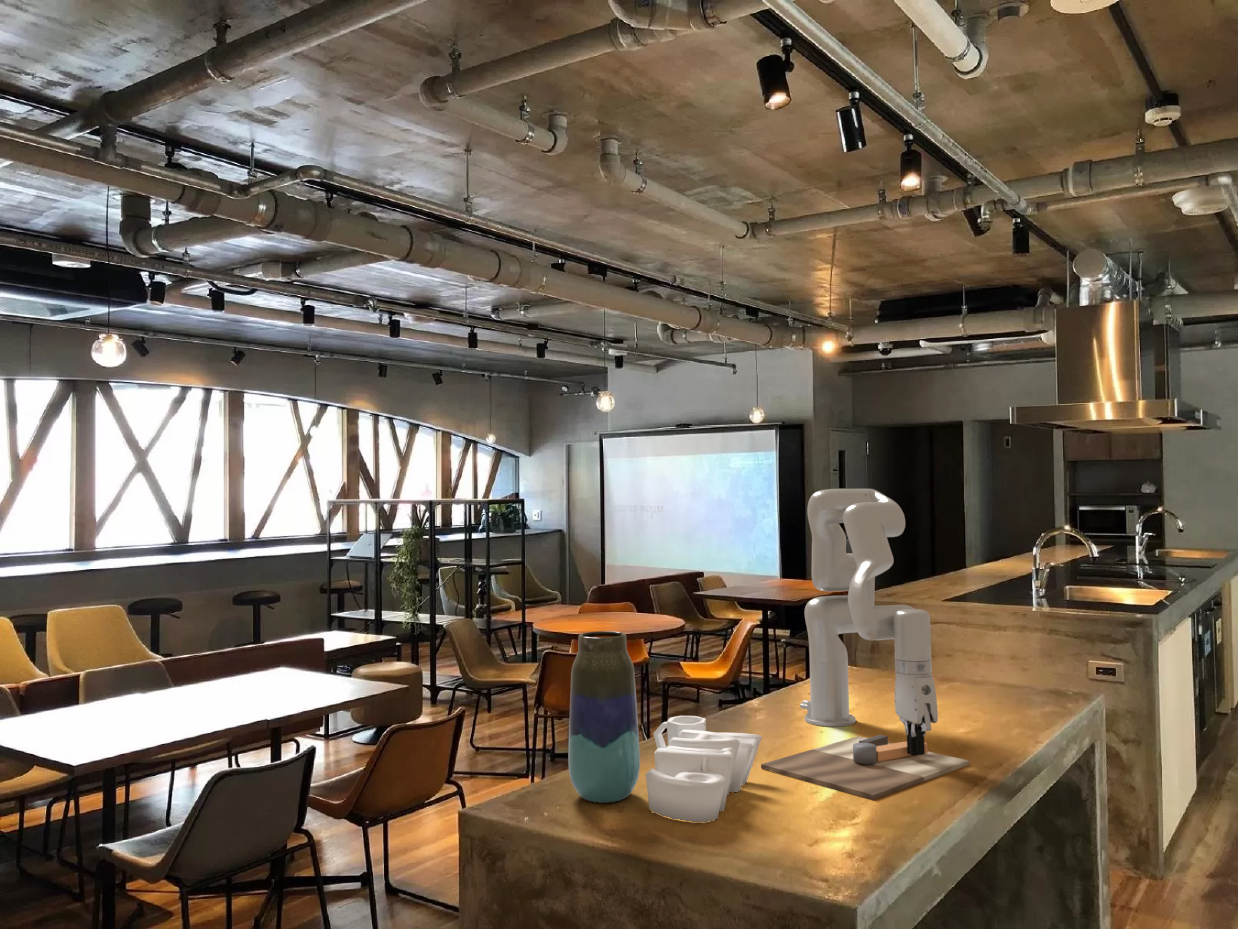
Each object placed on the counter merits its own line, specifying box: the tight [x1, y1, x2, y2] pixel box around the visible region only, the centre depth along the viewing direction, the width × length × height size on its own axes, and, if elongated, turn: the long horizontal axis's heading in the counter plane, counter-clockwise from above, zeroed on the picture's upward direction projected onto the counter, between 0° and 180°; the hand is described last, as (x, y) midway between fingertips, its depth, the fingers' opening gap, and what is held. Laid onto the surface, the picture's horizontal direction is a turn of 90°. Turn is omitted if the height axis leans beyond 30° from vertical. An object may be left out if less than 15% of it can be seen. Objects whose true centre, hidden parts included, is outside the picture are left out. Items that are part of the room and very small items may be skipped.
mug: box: [653, 715, 707, 750], centre depth 204 cm, size 12×9×10 cm
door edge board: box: [760, 734, 970, 801], centre depth 200 cm, size 28×34×3 cm
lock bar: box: [853, 740, 929, 764], centre depth 203 cm, size 18×5×3 cm, turn 117°
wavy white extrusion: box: [645, 730, 763, 822], centre depth 182 cm, size 35×16×10 cm, turn 155°
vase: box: [567, 630, 641, 804], centre depth 184 cm, size 14×14×31 cm
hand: (916, 754), depth 202 cm, fingers closed
